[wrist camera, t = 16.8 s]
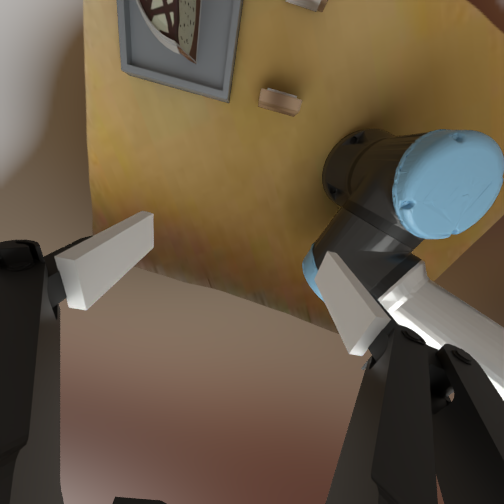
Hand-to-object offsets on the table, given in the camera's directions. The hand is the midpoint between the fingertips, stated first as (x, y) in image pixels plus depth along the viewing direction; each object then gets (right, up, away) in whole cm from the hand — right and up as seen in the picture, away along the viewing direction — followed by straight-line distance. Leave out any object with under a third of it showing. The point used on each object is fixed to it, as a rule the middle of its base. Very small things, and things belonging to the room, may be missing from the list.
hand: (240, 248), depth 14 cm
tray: (-10, +37, +17) cm, 42 cm away
